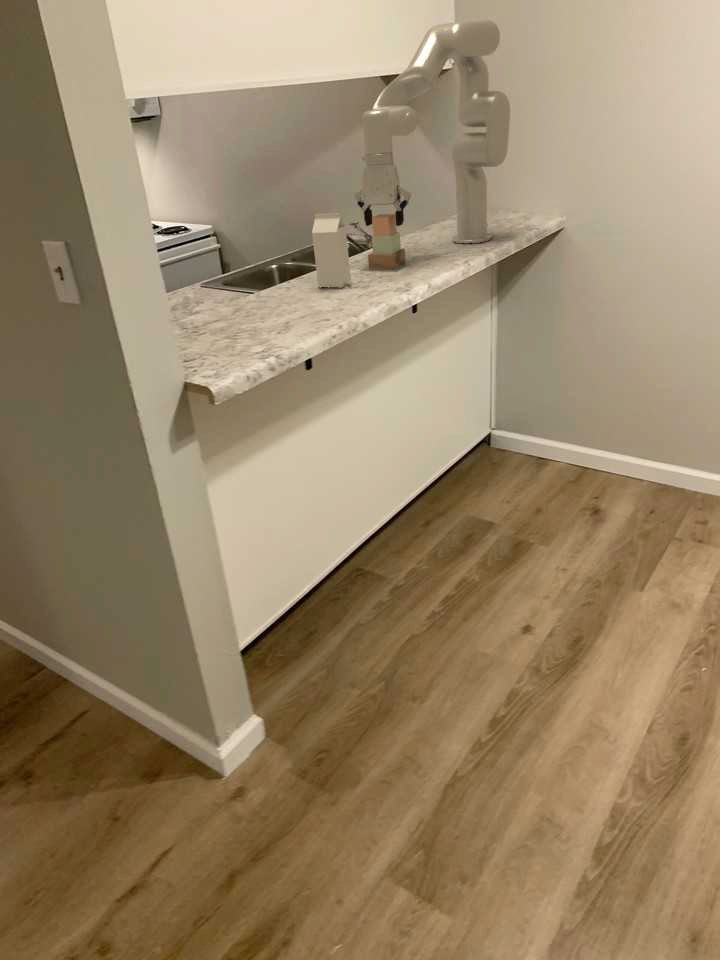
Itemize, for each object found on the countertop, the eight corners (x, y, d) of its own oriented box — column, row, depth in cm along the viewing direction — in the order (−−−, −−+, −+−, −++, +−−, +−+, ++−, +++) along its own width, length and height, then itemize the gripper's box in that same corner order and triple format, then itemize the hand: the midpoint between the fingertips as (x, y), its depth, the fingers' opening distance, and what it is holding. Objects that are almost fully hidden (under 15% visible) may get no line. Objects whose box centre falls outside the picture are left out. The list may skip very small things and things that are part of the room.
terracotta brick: (381, 232, 213) (379, 214, 210) (396, 232, 211) (395, 214, 208) (373, 235, 209) (372, 217, 207) (389, 236, 207) (388, 217, 204)
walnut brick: (381, 262, 219) (380, 248, 217) (405, 262, 215) (404, 248, 213) (369, 268, 213) (367, 254, 211) (393, 269, 209) (392, 255, 207)
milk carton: (342, 288, 200) (335, 215, 190) (318, 288, 202) (309, 216, 193) (351, 281, 205) (344, 210, 196) (327, 281, 208) (319, 211, 198)
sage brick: (382, 249, 216) (381, 231, 213) (400, 249, 213) (399, 231, 211) (373, 254, 211) (371, 236, 209) (391, 254, 209) (390, 236, 206)
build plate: (378, 262, 222) (378, 260, 221) (414, 263, 216) (414, 261, 216) (360, 273, 213) (359, 270, 212) (397, 274, 207) (397, 271, 207)
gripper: (345, 163, 201) (351, 227, 210) (402, 160, 194) (406, 228, 202) (358, 159, 207) (363, 222, 215) (414, 156, 199) (417, 222, 208)
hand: (384, 225), depth 209 cm, fingers open, 9 cm apart
